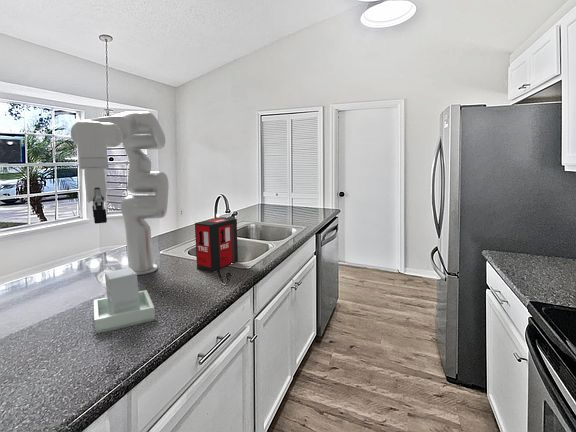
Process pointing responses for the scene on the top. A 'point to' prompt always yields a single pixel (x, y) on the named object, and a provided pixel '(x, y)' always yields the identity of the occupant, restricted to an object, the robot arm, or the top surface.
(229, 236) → the cleaning product box
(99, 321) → the tray
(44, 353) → the top surface
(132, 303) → the supplement box
